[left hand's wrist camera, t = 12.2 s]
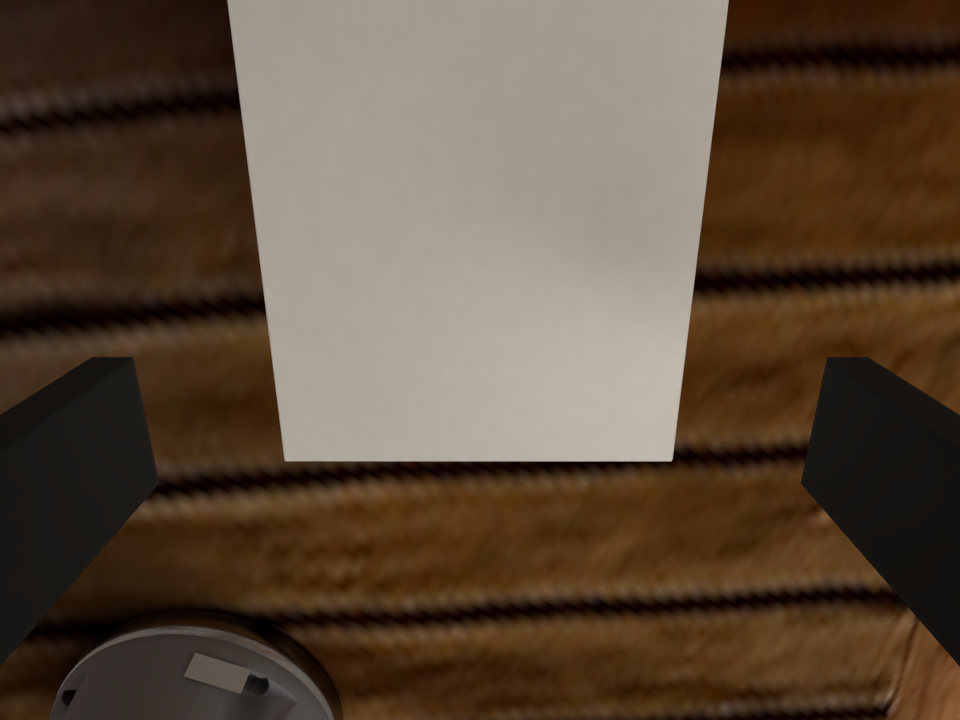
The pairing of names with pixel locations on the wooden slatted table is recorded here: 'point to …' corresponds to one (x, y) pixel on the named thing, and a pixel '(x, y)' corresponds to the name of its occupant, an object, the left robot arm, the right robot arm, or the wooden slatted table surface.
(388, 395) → the cabinet
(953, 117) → the wooden slatted table surface
